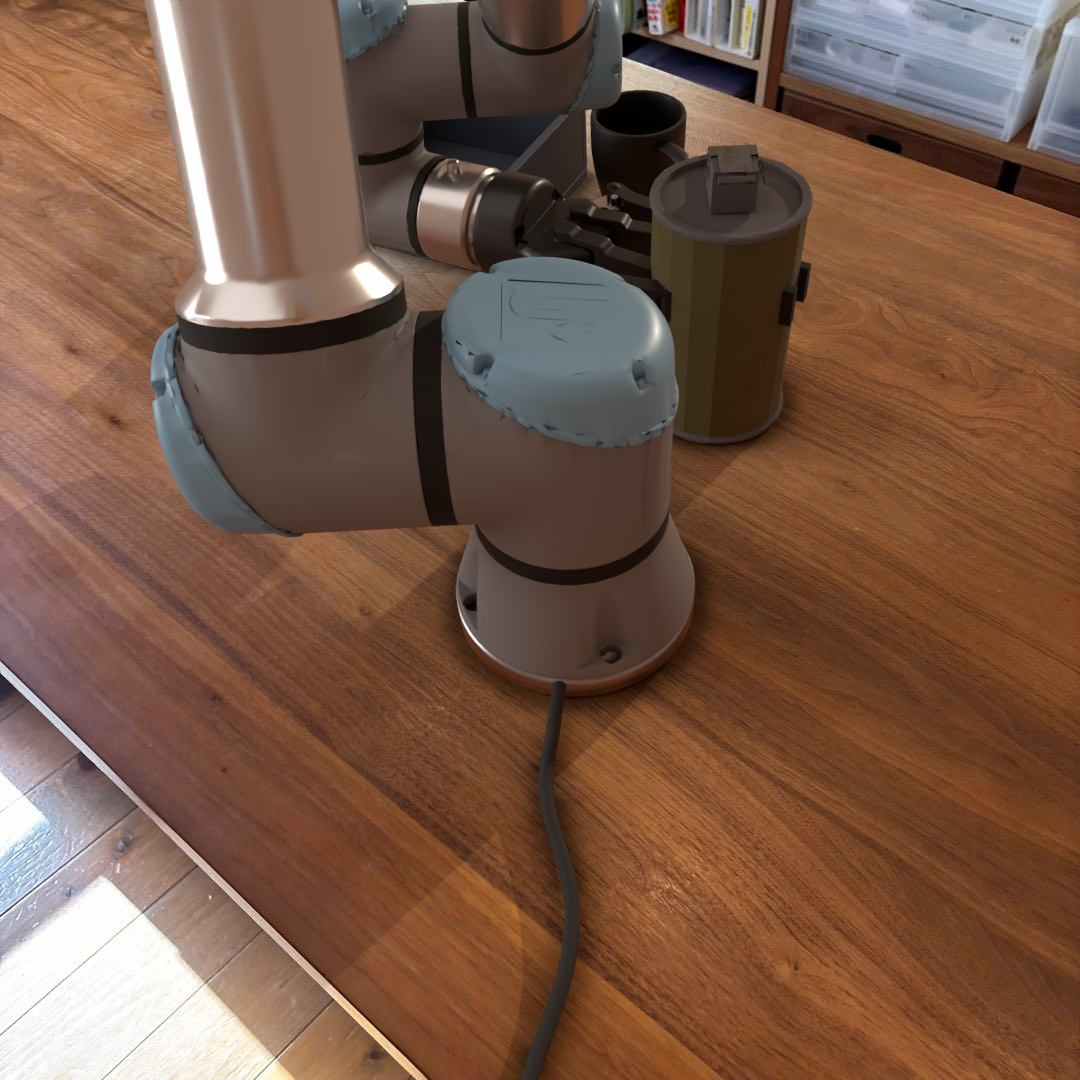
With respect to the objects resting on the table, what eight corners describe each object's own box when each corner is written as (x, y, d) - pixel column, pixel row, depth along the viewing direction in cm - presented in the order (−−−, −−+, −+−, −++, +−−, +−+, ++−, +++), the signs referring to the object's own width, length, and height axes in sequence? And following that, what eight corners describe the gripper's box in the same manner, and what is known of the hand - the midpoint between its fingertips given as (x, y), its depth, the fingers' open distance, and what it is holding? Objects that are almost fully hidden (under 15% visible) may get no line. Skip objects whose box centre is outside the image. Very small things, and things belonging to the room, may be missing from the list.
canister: (791, 444, 81) (831, 197, 66) (646, 447, 81) (654, 203, 66) (773, 349, 88) (805, 108, 73) (641, 352, 88) (646, 114, 73)
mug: (638, 268, 96) (639, 167, 89) (577, 201, 103) (573, 104, 96) (720, 241, 98) (728, 140, 91) (654, 177, 105) (657, 80, 98)
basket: (500, 278, 96) (492, 195, 90) (332, 234, 102) (314, 154, 96) (587, 176, 106) (585, 96, 100) (429, 142, 112) (418, 64, 106)
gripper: (434, 231, 75) (767, 314, 67) (536, 124, 84) (842, 187, 76) (447, 320, 81) (756, 407, 73) (542, 212, 89) (827, 279, 81)
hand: (799, 295), depth 74 cm, fingers closed on canister, 2 cm apart
